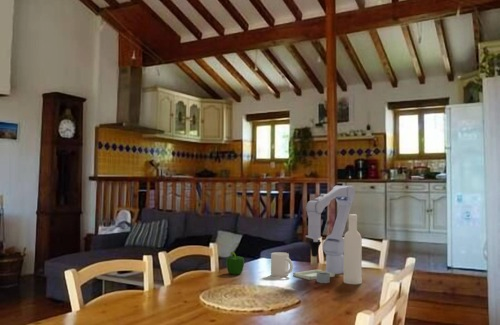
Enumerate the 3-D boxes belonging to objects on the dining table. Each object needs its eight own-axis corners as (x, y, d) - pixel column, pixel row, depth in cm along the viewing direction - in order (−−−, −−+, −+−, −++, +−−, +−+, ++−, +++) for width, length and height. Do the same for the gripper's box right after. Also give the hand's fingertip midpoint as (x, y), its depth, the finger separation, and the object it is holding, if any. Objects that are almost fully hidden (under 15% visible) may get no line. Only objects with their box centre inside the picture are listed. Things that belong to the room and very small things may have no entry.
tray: (317, 273, 222) (317, 269, 222) (334, 277, 213) (334, 273, 213) (293, 276, 212) (293, 272, 212) (310, 280, 204) (310, 276, 204)
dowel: (313, 264, 215) (314, 244, 216) (318, 265, 213) (318, 245, 213) (309, 264, 213) (309, 245, 214) (313, 265, 211) (314, 246, 211)
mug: (298, 277, 211) (298, 254, 212) (285, 279, 206) (286, 256, 206) (279, 273, 220) (279, 251, 221) (267, 275, 215) (267, 253, 215)
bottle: (343, 280, 205) (343, 213, 207) (361, 281, 204) (361, 214, 205) (343, 284, 197) (343, 214, 199) (362, 285, 196) (362, 215, 197)
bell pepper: (247, 274, 216) (247, 253, 217) (232, 276, 212) (232, 254, 212) (237, 271, 223) (238, 250, 224) (223, 273, 219) (223, 252, 219)
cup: (322, 280, 205) (322, 272, 205) (332, 282, 200) (332, 274, 200) (313, 282, 201) (314, 273, 201) (323, 284, 197) (323, 275, 197)
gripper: (304, 224, 221) (304, 253, 221) (307, 227, 207) (306, 257, 206) (319, 225, 221) (319, 253, 220) (322, 227, 207) (322, 258, 206)
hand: (314, 255), depth 213 cm, fingers closed on dowel, 3 cm apart
